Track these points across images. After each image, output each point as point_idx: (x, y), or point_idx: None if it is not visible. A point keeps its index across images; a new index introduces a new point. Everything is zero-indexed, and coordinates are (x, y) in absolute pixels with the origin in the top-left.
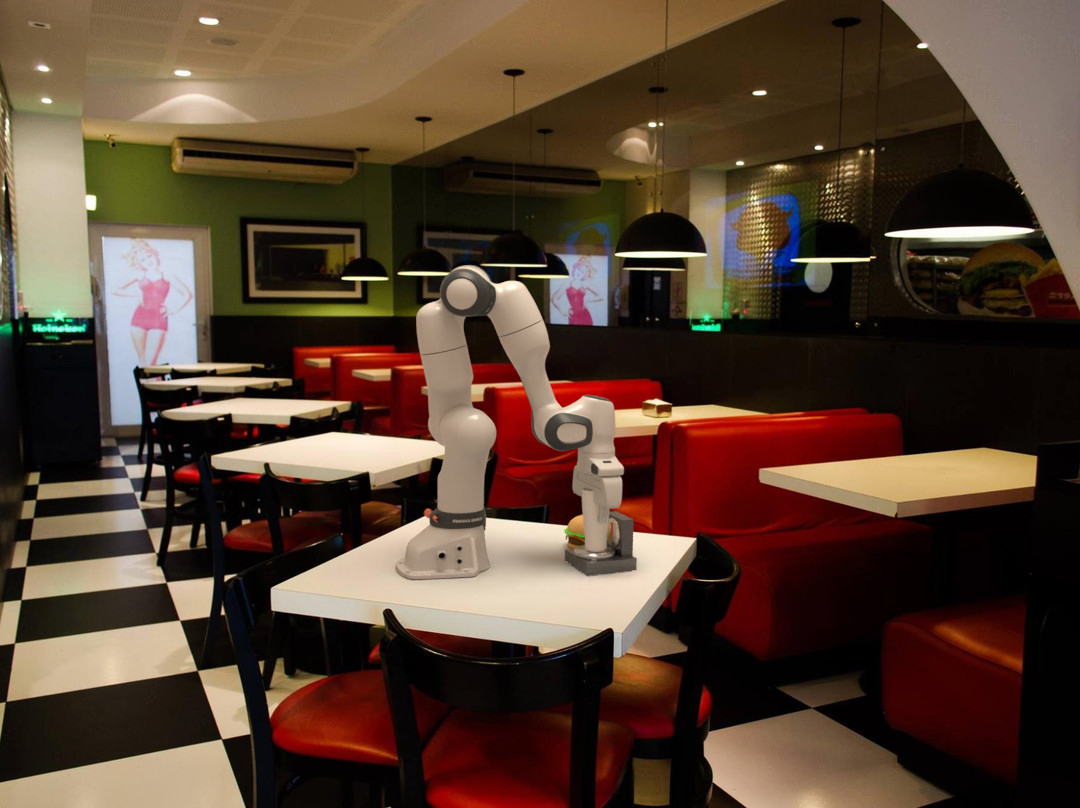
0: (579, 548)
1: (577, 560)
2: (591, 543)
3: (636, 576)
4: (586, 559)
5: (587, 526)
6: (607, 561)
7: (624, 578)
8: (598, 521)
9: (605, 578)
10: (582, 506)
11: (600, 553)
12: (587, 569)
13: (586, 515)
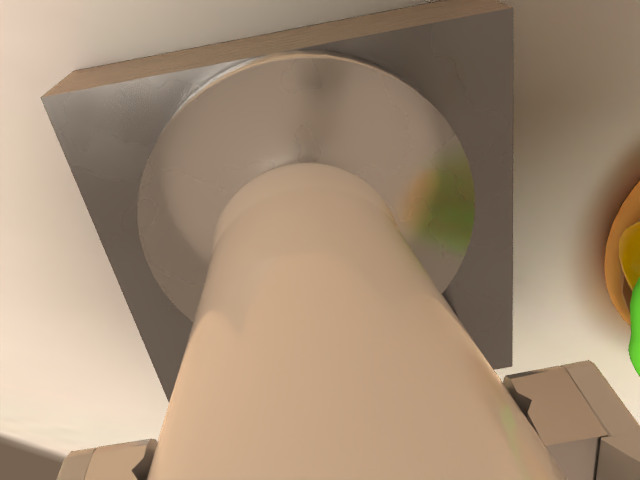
0: (384, 122)
1: (240, 53)
2: (226, 225)
3: (76, 349)
4: (163, 119)
5: (241, 286)
6: (108, 257)
7: (33, 285)
8: (119, 446)
9: (25, 180)
10: (376, 453)
11: (206, 249)
12: (58, 85)
13: (234, 379)
